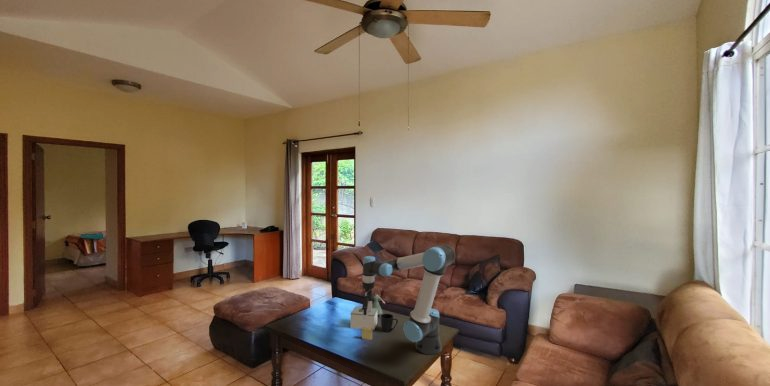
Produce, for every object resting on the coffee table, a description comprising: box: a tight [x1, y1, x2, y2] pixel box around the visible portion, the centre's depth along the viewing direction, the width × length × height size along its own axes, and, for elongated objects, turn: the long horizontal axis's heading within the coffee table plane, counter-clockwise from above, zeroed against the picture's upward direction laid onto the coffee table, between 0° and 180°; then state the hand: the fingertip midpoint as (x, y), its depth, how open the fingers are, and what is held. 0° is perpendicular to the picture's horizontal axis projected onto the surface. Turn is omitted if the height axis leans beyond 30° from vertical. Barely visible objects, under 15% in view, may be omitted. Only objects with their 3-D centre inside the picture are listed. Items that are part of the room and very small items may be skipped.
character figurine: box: [372, 291, 386, 318], centre depth 236 cm, size 16×8×18 cm, turn 65°
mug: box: [380, 313, 399, 333], centre depth 212 cm, size 8×12×10 cm
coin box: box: [350, 306, 378, 331], centre depth 219 cm, size 16×12×10 cm
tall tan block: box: [361, 327, 374, 341], centre depth 201 cm, size 6×3×6 cm, turn 81°
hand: (367, 315), depth 201 cm, fingers open, 13 cm apart
